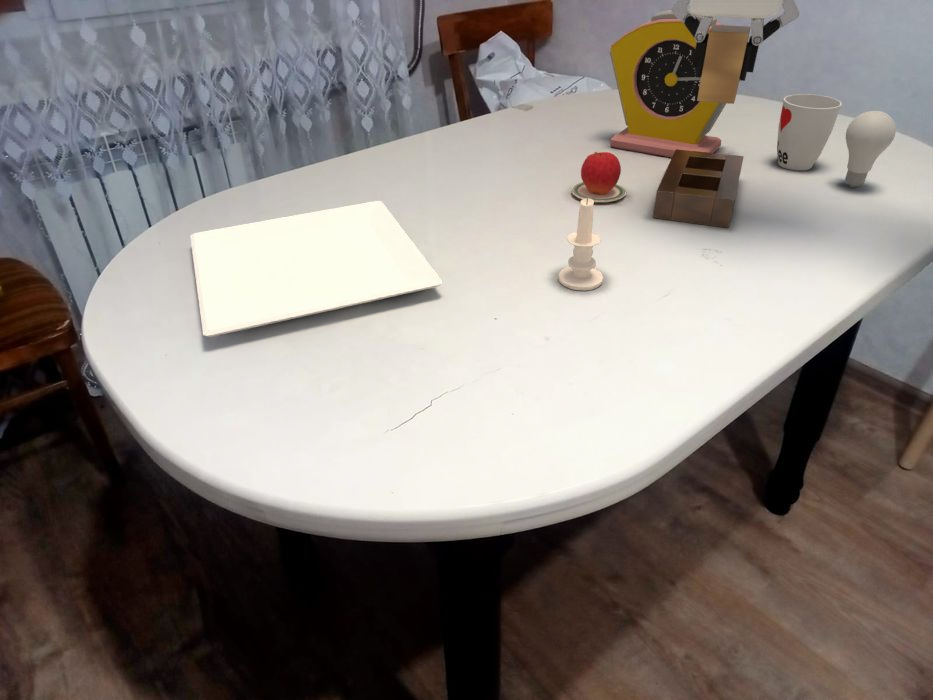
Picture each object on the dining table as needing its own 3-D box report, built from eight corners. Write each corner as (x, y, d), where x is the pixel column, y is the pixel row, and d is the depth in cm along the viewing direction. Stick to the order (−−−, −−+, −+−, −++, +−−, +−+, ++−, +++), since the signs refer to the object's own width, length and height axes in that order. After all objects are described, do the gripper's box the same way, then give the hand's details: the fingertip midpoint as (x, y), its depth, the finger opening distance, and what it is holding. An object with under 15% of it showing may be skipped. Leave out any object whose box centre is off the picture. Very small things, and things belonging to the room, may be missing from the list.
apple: (563, 199, 97) (566, 156, 93) (581, 180, 103) (585, 139, 99) (616, 208, 94) (621, 164, 90) (632, 189, 100) (637, 146, 96)
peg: (736, 94, 84) (750, 26, 80) (733, 104, 81) (749, 33, 76) (700, 92, 86) (713, 24, 81) (697, 101, 82) (709, 31, 78)
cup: (770, 153, 111) (786, 92, 105) (823, 160, 108) (842, 96, 102) (765, 169, 105) (781, 105, 99) (821, 177, 102) (841, 110, 96)
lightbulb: (855, 197, 95) (881, 120, 89) (821, 183, 100) (843, 109, 93) (885, 190, 97) (912, 113, 91) (850, 176, 102) (874, 103, 95)
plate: (193, 246, 88) (189, 232, 86) (382, 212, 95) (380, 198, 94) (208, 351, 68) (202, 334, 67) (444, 297, 75) (444, 281, 74)
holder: (738, 181, 101) (743, 155, 99) (728, 228, 88) (734, 200, 86) (671, 173, 104) (675, 149, 102) (652, 217, 91) (656, 190, 89)
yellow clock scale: (594, 145, 116) (606, 9, 104) (615, 130, 123) (629, 1, 110) (720, 167, 106) (750, 20, 94) (736, 150, 112) (766, 10, 100)
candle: (593, 294, 75) (602, 209, 69) (551, 284, 77) (556, 201, 71) (609, 274, 79) (618, 192, 73) (568, 265, 81) (574, 184, 75)
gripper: (671, -99, 71) (647, 78, 82) (844, -101, 66) (794, 89, 76) (680, -102, 77) (656, 65, 87) (840, -103, 71) (794, 74, 82)
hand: (721, 74), depth 82 cm, fingers closed on peg, 4 cm apart
